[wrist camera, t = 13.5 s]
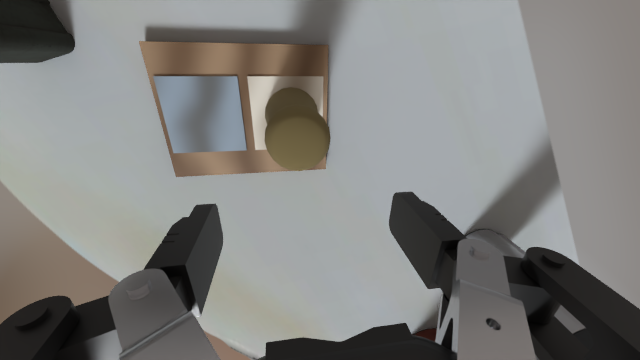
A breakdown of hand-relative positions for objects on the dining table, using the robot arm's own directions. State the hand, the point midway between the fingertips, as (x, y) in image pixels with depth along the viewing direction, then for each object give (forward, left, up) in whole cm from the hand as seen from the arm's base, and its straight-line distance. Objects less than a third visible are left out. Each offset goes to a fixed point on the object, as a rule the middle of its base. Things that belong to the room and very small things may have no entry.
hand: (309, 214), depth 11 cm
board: (+5, -1, -20) cm, 21 cm away
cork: (0, -1, -19) cm, 19 cm away
